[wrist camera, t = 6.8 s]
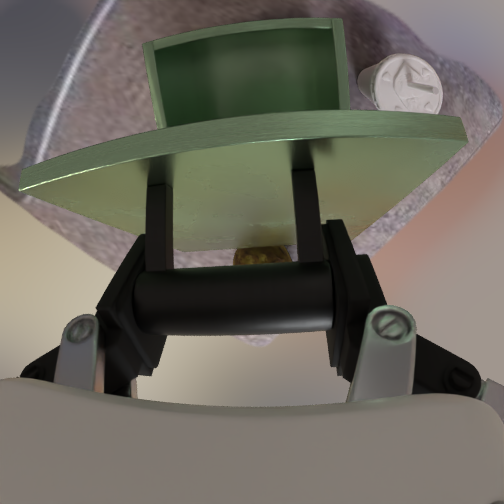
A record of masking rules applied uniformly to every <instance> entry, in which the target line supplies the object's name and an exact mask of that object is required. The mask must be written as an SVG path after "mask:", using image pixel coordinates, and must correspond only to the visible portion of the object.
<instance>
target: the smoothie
mask: <svg viewBox="0 0 504 504" xmlns="http://www.w3.org/2000/svg"><path fill="white" fill-rule="evenodd" d="M357 85H358V88H359V90H360V92H361V93H362V94H363V95H364V96H365V97H366V98H368V99H369V100H370V101H371V102H372V103H373V104H375V106H376V108H377V109H378V110H383V111H402V112H416V113H428V114H438V112H439V110H440V108H441V104H442V98H443V93H442V86H441V82H440V80H439V77H438V75H437V74H436V72H435V70H434V69H433V68H432V67H431V66H430V65H429V64H428V63H427V62H426V61H424V60H423V59H421V58H419V57H417V56H414V55H410V54H394V55H390V56H388V57H386V58H385V59H383V60H381V61H380V63H378V64H376V65H373V66H371V67H368V68H366V69H364V70H362V71H361V72H360V74H359V76H358V79H357Z"/></svg>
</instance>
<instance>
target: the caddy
mask: <svg viewBox="0 0 504 504" xmlns="http://www.w3.org/2000/svg"><path fill="white" fill-rule="evenodd" d="M142 46H143V53H144V59H145V65H146V71H147V77H148V83H149V88H150V93H151V99H152V104H153V109H154V114H155V119H156V124H157V129H163V128H168V127H173V126H178V125H184V124H189V123H195V122H201V121H208V120H215V119H222V118H229V117H237V116H246V115H255V114H266V113H278V112H292V111H312V110H350V96H349V80H348V67H347V55H346V45H345V36H344V27H343V20H342V18H286V19H271V20H259V21H250V22H241V23H234V24H227V25H221V26H215V27H209V28H204V29H199V30H194V31H189V32H185V33H180V34H176V35H172V36H168V37H164V38H160V39H157V40H153V41H150V42H146V43H143V44H142Z"/></svg>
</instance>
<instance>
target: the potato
mask: <svg viewBox="0 0 504 504" xmlns="http://www.w3.org/2000/svg"><path fill="white" fill-rule="evenodd" d="M280 262H292V260H291V258H290V256H289V253H288V251H287V250H286V248H285V247H284V245H281V246H266V247H252V248H237V250H236V252H235V255H234V259H233V265H248V264H264V263H280Z"/></svg>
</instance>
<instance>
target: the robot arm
mask: <svg viewBox="0 0 504 504" xmlns="http://www.w3.org/2000/svg"><path fill="white" fill-rule="evenodd" d="M321 229H322V240H323V252H324V260H325V259H326V260H328V261H329V263H330V265H331V268H332V272H333V278H334V287H335V322H334V326H333V328H332V329H331V330H327V331H326V336H327V343H328V351H329V359H330V366H331V367H336V368H337V375H338V376H343V378H344V379H346V380H347V381H349V382H350V383H351V384H350V388H349V392H348V396H347V399H346V402H345V403H333V404H321V405H308V406H307V405H306V406H285V407H228V406H206V405H190V404H179V403H167V402H159V401H150V400H142V399H138V398H137V384H136V383H137V382H136V377H138V375H143V376H152V372H153V369H154V368H157V366H158V364H159V361H160V358H161V354H162V351H163V348H164V345H165V341H166V338H167V335H148V334H145V333H144V332H142V331H141V330H140V328H139V327H138V325H137V323H136V320H135V317H134V313H133V304H132V297H133V289H134V285H135V281H136V279H137V277H138V276H139V274H140V273H142V272H143V271H145V234H140V235H139V236H138V238H137V240H136V241H135V243H134V244H133V246H132V247H131V249H130V251H129V252H128V254H127V255H126V257H125V259H124V260H123V262H122V263H121V265H120V267H119V268H118V270H117V272H116V273H115V275H114V277H113V278H112V280H111V282H110V284H109V285H108V287H107V289H106V290H105V292H104V294H103V296H102V297H101V299H100V301H99V303H98V305H97V307H96V309H97V312H96V314H95V316H94V315H91V314H83V315H80V316H77V317H76V318H74V319H72V320H71V321H70V322H69V323H68V324H67V326H66V327H65V328H64V331H63V334H62V339H61V344H60V345H59V346H58V347H56V348H54V349H53V350H51V351H49V352H48V353H46V354H44V355H43V356H41V357H39V358H38V359H36V360H35V361H33V362H32V363H30V364H29V365H27V366H26V367H25V368H24V370H23V371H22V373H21V375H20V378H19V377H16V378H6V379H1V380H0V504H504V386H503V385H501V384H498V383H496V382H494V381H492V380H490V379H487V380H486V381H484V380H481V377H480V375H479V372H478V371H477V369H476V368H475V367H474V366H473V365H472V364H470V363H469V362H467V361H466V360H464V359H462V358H460V357H458V356H456V355H454V354H452V353H451V352H449V351H447V350H445V349H444V348H442V347H440V346H438V345H436V344H434V343H432V342H431V341H429V340H427V339H425V338H423V337H421V336H420V335H418V334H416V322H415V320H414V318H413V316H412V315H411V314H410V313H409V312H408V311H406V310H404V309H403V308H400V307H397V306H393V305H387V303H386V300H385V297H384V295H383V292H382V289H381V287H380V284H379V281H378V279H377V276H376V274H375V271H374V268H373V266H372V263H371V261H370V258H369V257H368V255H367V254H362V255H356V254H355V251H354V248H353V245H352V243H351V240H350V237H349V235H348V232H347V229H346V227H345V224H344V222H343V220H342V219H332V220H326V224H321Z"/></svg>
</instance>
